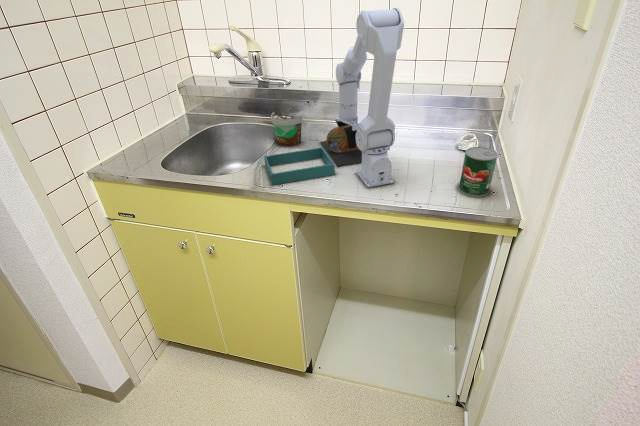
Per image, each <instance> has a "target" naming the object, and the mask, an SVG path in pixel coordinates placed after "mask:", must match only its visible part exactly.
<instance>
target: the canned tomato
mask: <svg viewBox="0 0 640 426" xmlns="http://www.w3.org/2000/svg"><path fill="white" fill-rule="evenodd" d="M498 156H499V154H498V152H497V151H496V150H494V149H492V148H489V147H485V146H479V147H471V148H468V149H467V150H465V153H464V159H463V163H462V168H461V174H460V179H459V183H458V184H459V185H458V190H459V192H461V193H462V194H463V195H466V196H469V197H473V198H477V197H478V198H480V197H485V196H487V195H489V193H490V188H491V185H492V181H493V177H494V172H495V169H496V164H497V159H498Z"/></svg>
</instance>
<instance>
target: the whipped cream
mask: <svg viewBox="0 0 640 426" xmlns="http://www.w3.org/2000/svg"><path fill="white" fill-rule="evenodd" d="M457 143H458V145H457V148H458V150H461V151H466V150H467V149H468V148H471V147H480V146H479V140H478V138H477V136H476V135H475V134H473V133H468V134H465V135H462V136H461V137H460V139H459V140H458V142H457Z"/></svg>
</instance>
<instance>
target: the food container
mask: <svg viewBox="0 0 640 426" xmlns="http://www.w3.org/2000/svg"><path fill="white" fill-rule="evenodd" d="M303 122H304V119H303V117H302V115H300V116H298V117H294V116H291V115H287V114H283V115H282V114H281V115H280V114H276V113H275V111H274V112H273V111H272V113H271V114H270V123H271V124H272V125H273V131H274V135H275V139H276V143H277V144H278V145H279V146H282V147H293V146H296V145H299V144H301V143H302V123H303Z"/></svg>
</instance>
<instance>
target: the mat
mask: <svg viewBox="0 0 640 426" xmlns="http://www.w3.org/2000/svg"><path fill="white" fill-rule="evenodd" d="M320 144H321V147H323V149H324V150H325V152H326V153H327V155H328V156H329V157H330V159H331V160H332V162H333V163H334V165H335V166H336V167H337V168H340V167H344V166H345V167H346V166H351V165H356V164H357V165H358V164H362V151H361V150H354V151H348V152H342V153H335V152H333V151H332V150H330V148H329V147H328V145H327V141H326V140H325V141H320Z"/></svg>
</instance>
